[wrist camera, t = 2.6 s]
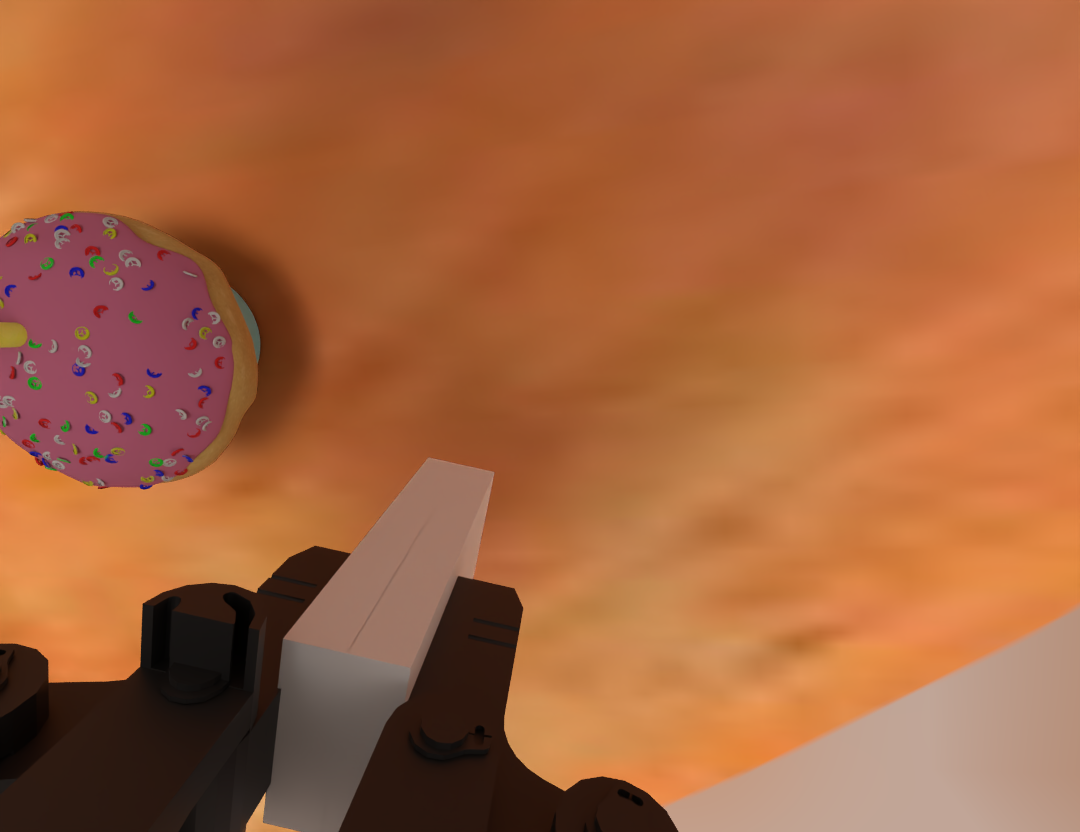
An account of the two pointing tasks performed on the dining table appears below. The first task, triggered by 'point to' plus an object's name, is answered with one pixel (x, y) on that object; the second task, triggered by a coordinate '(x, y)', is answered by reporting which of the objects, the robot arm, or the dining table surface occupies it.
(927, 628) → the dining table surface
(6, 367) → the cupcake
